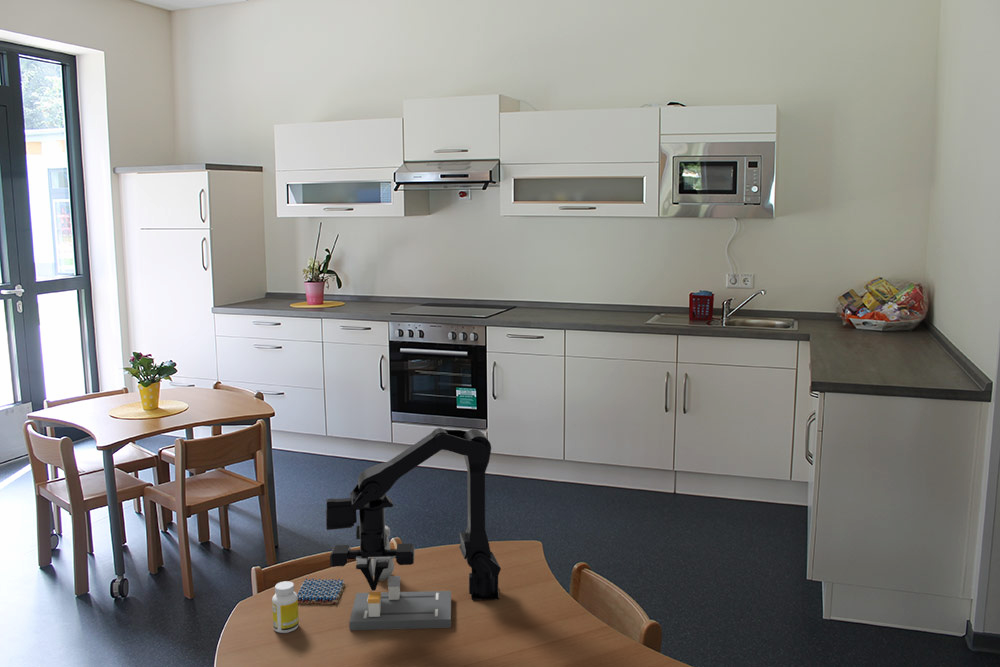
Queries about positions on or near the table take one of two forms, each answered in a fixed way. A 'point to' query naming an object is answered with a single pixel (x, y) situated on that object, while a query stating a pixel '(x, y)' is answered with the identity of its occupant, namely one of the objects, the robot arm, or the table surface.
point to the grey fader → (394, 587)
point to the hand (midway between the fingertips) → (373, 589)
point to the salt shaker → (390, 569)
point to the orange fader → (374, 604)
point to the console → (404, 611)
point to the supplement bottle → (285, 608)
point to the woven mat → (320, 591)
